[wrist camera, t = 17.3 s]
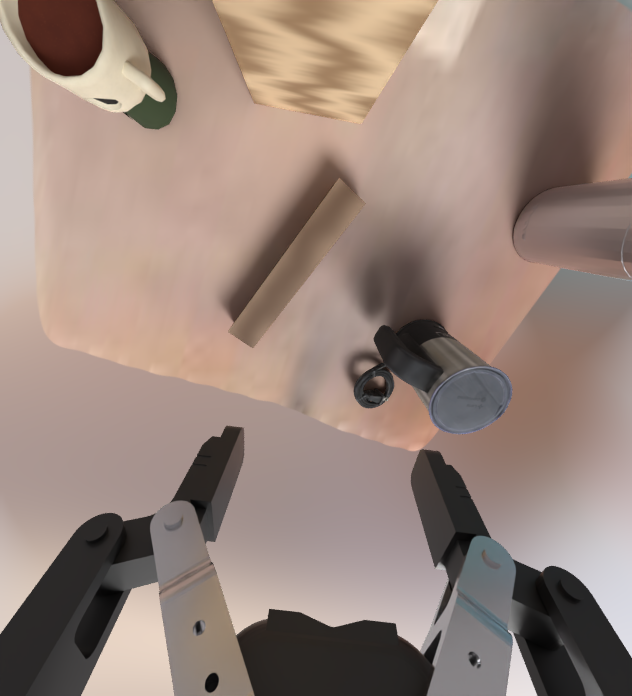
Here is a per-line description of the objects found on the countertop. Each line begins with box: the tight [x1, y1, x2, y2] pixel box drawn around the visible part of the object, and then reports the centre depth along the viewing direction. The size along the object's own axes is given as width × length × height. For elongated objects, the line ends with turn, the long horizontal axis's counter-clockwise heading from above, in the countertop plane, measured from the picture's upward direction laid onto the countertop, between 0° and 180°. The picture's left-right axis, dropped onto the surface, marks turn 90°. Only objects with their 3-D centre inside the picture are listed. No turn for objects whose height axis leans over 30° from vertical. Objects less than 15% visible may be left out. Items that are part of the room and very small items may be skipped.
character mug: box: [0, 0, 177, 129], centre depth 24 cm, size 11×7×13 cm, turn 58°
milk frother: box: [354, 320, 512, 434], centre depth 38 cm, size 14×16×15 cm
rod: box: [228, 178, 366, 348], centre depth 37 cm, size 4×23×4 cm, turn 141°
